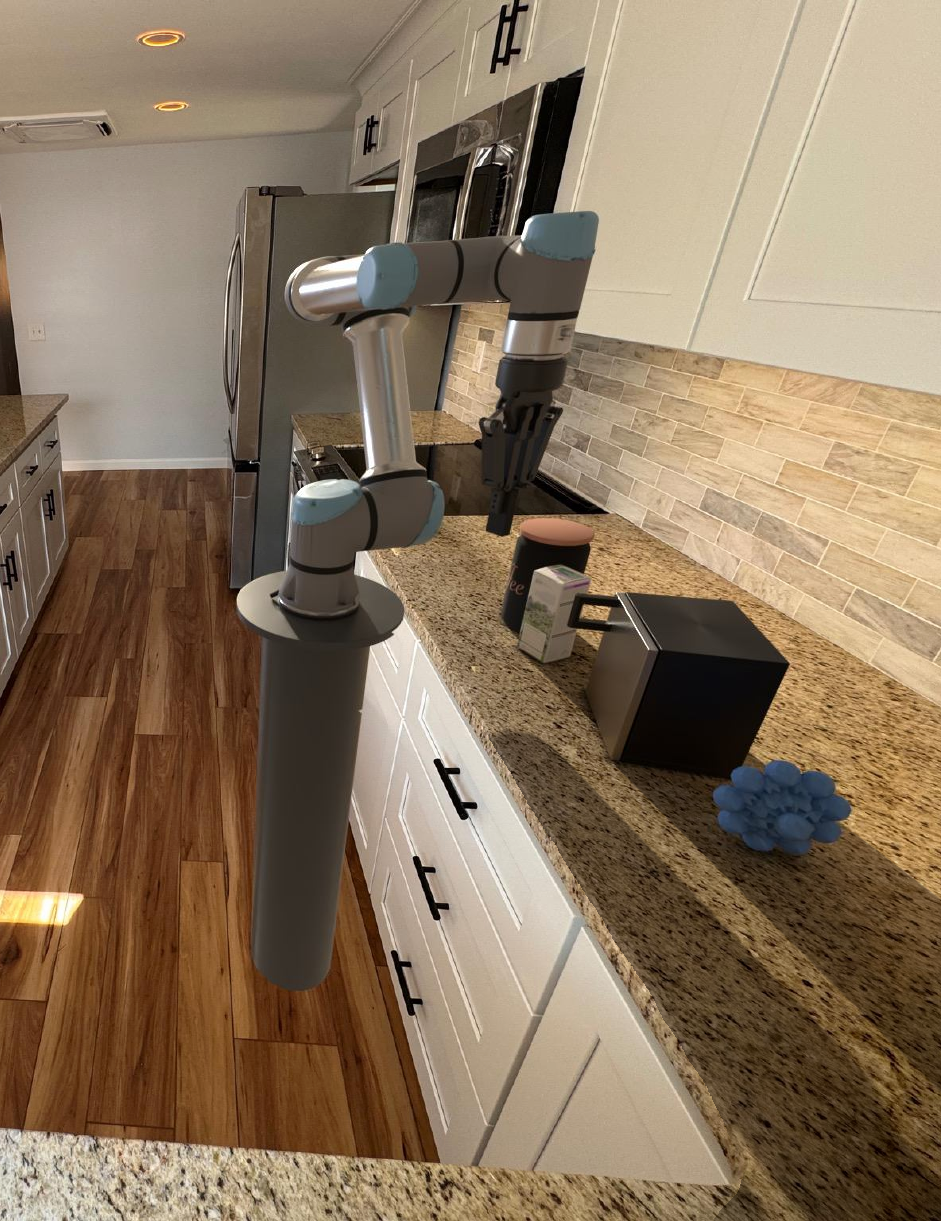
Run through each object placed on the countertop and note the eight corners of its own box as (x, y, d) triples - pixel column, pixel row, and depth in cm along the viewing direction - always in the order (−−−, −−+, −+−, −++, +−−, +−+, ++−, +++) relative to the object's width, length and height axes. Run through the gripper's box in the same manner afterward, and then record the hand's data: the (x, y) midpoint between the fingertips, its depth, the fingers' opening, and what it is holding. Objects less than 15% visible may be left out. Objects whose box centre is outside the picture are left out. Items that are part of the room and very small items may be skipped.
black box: (621, 762, 87) (661, 649, 79) (592, 693, 100) (625, 591, 92) (736, 780, 83) (790, 663, 75) (690, 706, 96) (733, 600, 88)
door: (565, 752, 89) (598, 644, 81) (545, 686, 102) (572, 588, 94) (619, 761, 87) (658, 650, 79) (592, 693, 100) (624, 592, 92)
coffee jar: (504, 605, 125) (525, 514, 117) (571, 618, 120) (597, 523, 111) (494, 629, 118) (515, 534, 110) (564, 644, 112) (592, 545, 104)
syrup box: (571, 657, 109) (594, 576, 102) (542, 664, 107) (563, 583, 101) (542, 640, 114) (563, 562, 107) (514, 647, 112) (533, 569, 106)
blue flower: (710, 868, 72) (751, 783, 66) (685, 823, 77) (721, 740, 72) (848, 892, 68) (904, 803, 62) (811, 842, 74) (860, 757, 68)
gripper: (524, 364, 78) (487, 551, 89) (598, 352, 83) (553, 531, 93) (471, 358, 84) (441, 534, 95) (542, 347, 89) (506, 516, 100)
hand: (497, 532), depth 94 cm, fingers closed
